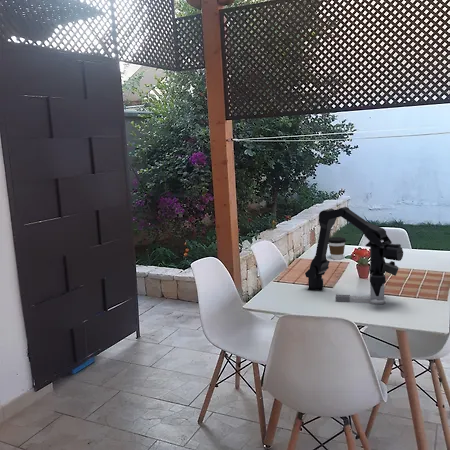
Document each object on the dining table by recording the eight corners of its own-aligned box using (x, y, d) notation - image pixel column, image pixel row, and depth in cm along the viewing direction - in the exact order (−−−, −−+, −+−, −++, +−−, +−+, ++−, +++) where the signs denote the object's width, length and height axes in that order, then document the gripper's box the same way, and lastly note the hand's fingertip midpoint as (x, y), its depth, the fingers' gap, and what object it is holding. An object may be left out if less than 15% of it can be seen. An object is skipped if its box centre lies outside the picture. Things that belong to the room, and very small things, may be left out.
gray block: (370, 299, 201) (370, 286, 199) (370, 295, 206) (370, 282, 205) (384, 299, 199) (384, 286, 198) (383, 295, 204) (383, 282, 203)
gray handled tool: (335, 302, 204) (335, 290, 203) (336, 297, 211) (336, 286, 210) (386, 305, 198) (386, 292, 197) (385, 299, 205) (385, 287, 204)
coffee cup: (323, 258, 282) (323, 238, 280) (338, 255, 286) (338, 236, 284) (335, 261, 272) (335, 241, 270) (350, 258, 277) (350, 239, 275)
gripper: (398, 263, 188) (398, 300, 191) (395, 252, 206) (395, 286, 208) (369, 262, 191) (369, 299, 194) (369, 252, 209) (369, 285, 212)
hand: (377, 292), depth 202 cm, fingers open, 9 cm apart
